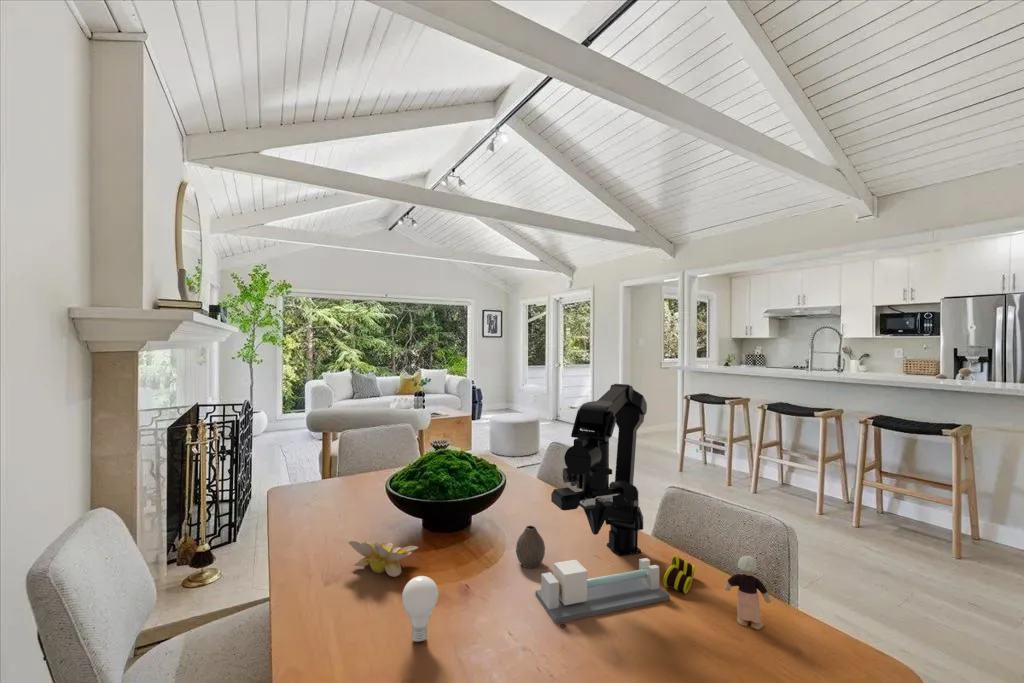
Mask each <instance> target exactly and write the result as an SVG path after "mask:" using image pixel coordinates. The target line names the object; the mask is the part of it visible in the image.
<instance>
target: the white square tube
mask: <svg viewBox="0 0 1024 683" xmlns="http://www.w3.org/2000/svg"><path fill="white" fill-rule="evenodd" d="M553 576H554V577H555V578H556V579H557V580H558V582H559V584H561V585H562V593H561V594H559V600H560V601H561V602H562V603H563V605H569V604H574V603H580V602H585V601H587V579H588V570H587V568H585V567H584V566H583V565H582V564H581V563H580V562H579V561H578V560H577V559H570V560H565V561H559V562H554V563H553Z"/></svg>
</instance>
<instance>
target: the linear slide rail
mask: <svg viewBox="0 0 1024 683" xmlns="http://www.w3.org/2000/svg"><path fill="white" fill-rule="evenodd" d="M540 580H541V585H540V586H541V588H540V589H538V590H535V597H536V598H537V600H538V602H540V604H541V606H542V607H543V608H544V609H545V611H546V612H547V614H548V615H549V617H550V618H551V620H552V621H553V622H554V624H560V622H561V623H564V622H565V623H566V622H569V621H574V620H581V619H584V618H590V617H593V616H599V615H603V614H604V615H605V614H608V613H613V612H618V611H622V610H628V609H631V608H632V609H633V608H636V607H641V606H646V605H650V604H651V605H653V604H656V603H661V602H665V601H670V600H671V599H670V598H671V594H669V593H668V592H667V591H665V590H664V589H663V588H662V587H660V566H659V565H657V564H653V565H651V560H650V559H649V558H648V557H645V558H639V559H638V570H631V571H626V572H624V571H623V572H619V573H615V574H614V573H613V574H609V575H603V576H597V577H591V578H587V601H585V602H580V603H574V604H569V605H563V603H562V602H561V601H560V600H559V594H561V593H562V585H561V584H559V582H558V580H557V579H556V578H555V577H554V574H553V573H552V572H550V571H549V572H544V573H541V579H540Z"/></svg>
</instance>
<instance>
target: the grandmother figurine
mask: <svg viewBox="0 0 1024 683" xmlns="http://www.w3.org/2000/svg"><path fill="white" fill-rule="evenodd" d="M757 565H758V564H757V561H756V559H755V558H754V557H753V556H750V555H742V556H741V557H740V558H739V559H738V561H737V568H739V570H740V571H741V572H742V574H741V573H736V574H734V575H732V576H730V577H729V578H727V583H726V584H725V585H724V589H725V591H726V592H730V591H731V588H733V587H738V589H737V594H736V595H737V596H736V598H737V599H736V610H737V617H736V621H737V623H738V625H740V626H743V627H747V626H748V624H749V622H751V623H750V627H751V628H753V629H755V630H761V629H762V628H763V627H764V623H763V622H762V620H761V609H760V607H761V606H760V596H759V593H758V591H759V592H760V593H761V595H762V597H763V598H764V601H765V603H767V604H770V603H771V602H772V600H771V598H770V595H769V593H768V589H767V588H766V587H765V585H764V583H763V582H762V581H761V580H760V579H759V578H757V577H755V576H753V575H754V574H755V573H756V572H757V568H758V566H757Z"/></svg>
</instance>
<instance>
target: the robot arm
mask: <svg viewBox="0 0 1024 683" xmlns="http://www.w3.org/2000/svg"><path fill="white" fill-rule="evenodd" d="M647 404H648V403H647V401H646V398H645V396H644V395H643V394H642V393H640V392H638V391H637V390H635V389H634V387H633V386H632V385H630V384H627V383H626V384H625V383H613V384H610V387H609V389H608V390H607V391H606V392H605V393H604V394H603V395H602V396H601V397H600V398H599V399H597V400H594V401H593V400H592V401H587V402H585V403H582V405H581V406H580V407H579V408H578V410H577V412H576V415H575V418H574V423H573V427H572V429H571V430H572V431H571V434H570V437H571V438H575V439H573V445H572V446H569V448H567V449H566V451H565V454H564V465H565V468H562V480H563V482H564V483H570V486H569V487H561V488H554V489H553V490H552V492H551V500H550V501H551V503H553V504H554V505H555V506H556V507H557V508H558V509H560V510H561V511H571V510H577V509H578V508H579V507H580V508H582V509H583V511H584V513H585V515H586V518H587V521H588V525H589V527H590V531H591V533H592V534H593V535H594V536H596V535H599V532H600V531H601V528H602V527H603V525H604V523H605V525H606V526H607V525H608V526H610V530H608V542H607V543H606V546H607V547H608V548H609V549H611V550H612V551H613V552H614V553H616V554H617V555H618V556H621V557H622V556H628V555H633V554H639V553H642V550H641V549H640V548H639V547H638V546H639V544H638V541H639V540H638V535H639V534H638V533H639V531H642V530H644V516H643V512H642V510H641V507H640V506H639V504H640V502H639V489H638V488H637V486H635V485H634V479H635V478H634V475H635V462H636V460H635V459H636V450H637V449H636V447H637V446H636V444H637V432H638V430H639V428H640V427H641V426H642V424H643V423H644V420H645V415H646V414H647V410H648V405H647ZM616 426H617V428H618V433H617V434H618V436H617V448H616V460H615V461H616V465H615V476H614V481H611V482H610V481H609V480H610V478H609V476H610V475H613V469H612V468H610V439H611V438H612V437H613V434H614V429H615V427H616ZM609 482H610V483H609ZM575 486H576V488H577V489H581V491H575V490H573V489H571V488H570V487H575Z"/></svg>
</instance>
